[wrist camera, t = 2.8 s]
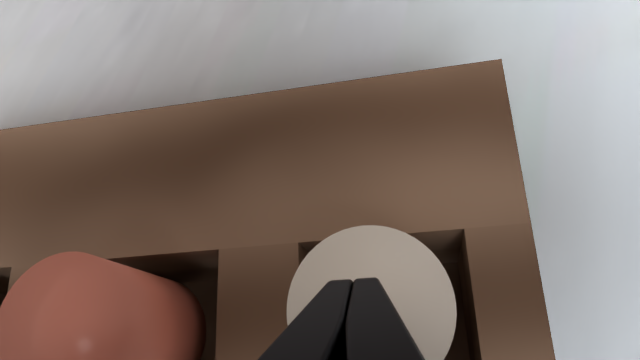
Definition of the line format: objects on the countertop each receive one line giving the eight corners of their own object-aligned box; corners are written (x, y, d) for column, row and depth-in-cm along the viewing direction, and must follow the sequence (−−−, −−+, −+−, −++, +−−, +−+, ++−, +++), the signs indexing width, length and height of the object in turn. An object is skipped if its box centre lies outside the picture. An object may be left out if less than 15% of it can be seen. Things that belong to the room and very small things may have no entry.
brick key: (203, 395, 15) (119, 406, 11) (95, 399, 15) (-21, 410, 11) (208, 275, 16) (134, 245, 12) (107, 282, 16) (5, 257, 13)
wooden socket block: (527, 412, 17) (568, 433, 12) (-32, 423, 22) (-194, 443, 16) (484, 140, 21) (501, 59, 15) (9, 194, 25) (-113, 145, 19)
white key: (459, 388, 13) (467, 397, 10) (329, 392, 14) (287, 402, 10) (443, 257, 15) (445, 218, 11) (324, 266, 15) (285, 232, 11)
